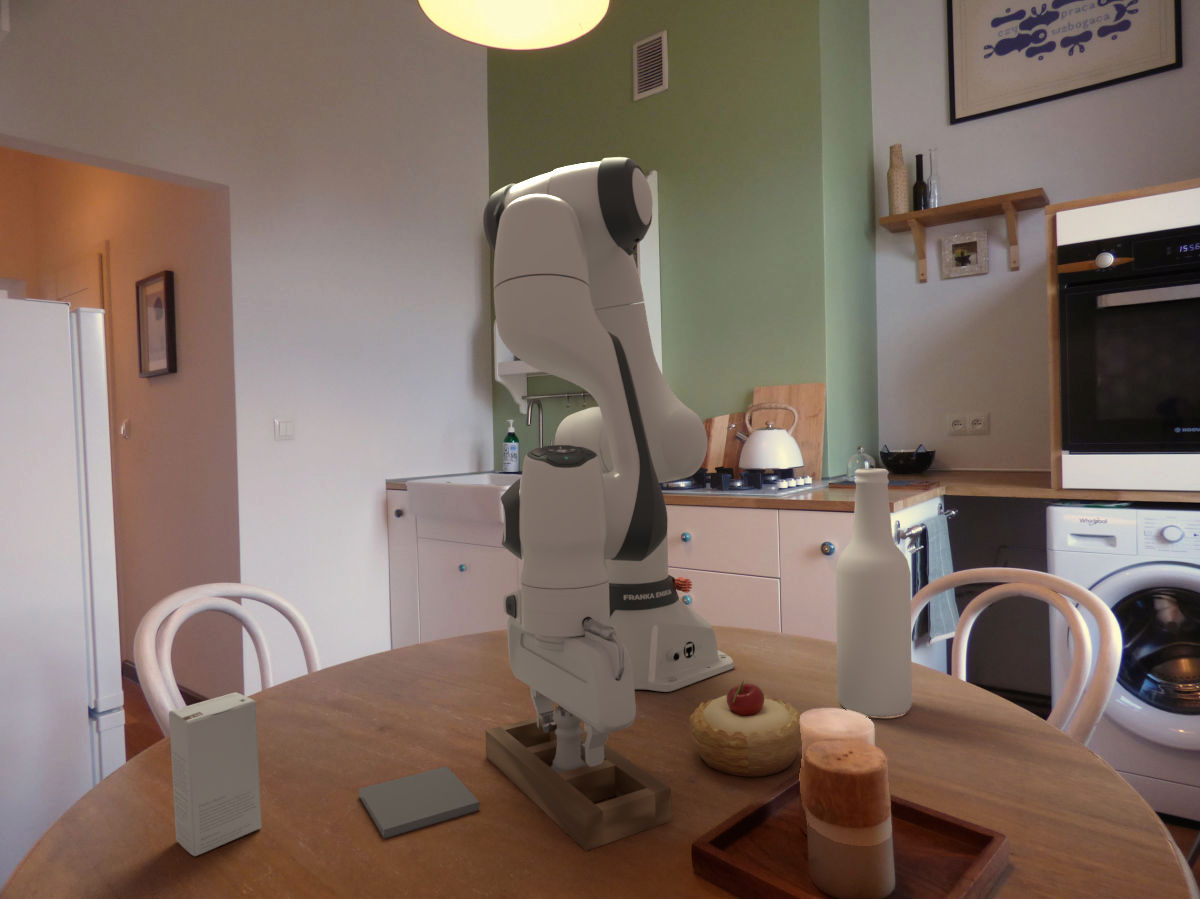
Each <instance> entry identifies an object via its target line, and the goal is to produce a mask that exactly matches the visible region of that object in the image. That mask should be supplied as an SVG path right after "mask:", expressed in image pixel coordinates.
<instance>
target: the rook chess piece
mask: <svg viewBox="0 0 1200 899" xmlns="http://www.w3.org/2000/svg"><path fill="white" fill-rule="evenodd" d="M552 719H553V720H554V722H555V723H556V724H557V729H556V730H555V734H556V735H557V748H556V756H555V759H554V760H553V763H552V764H553V765H552V766H551V767H550V768H551V769H553V770H554V771H555V772H556V773H558V774H559V773H563V772H566V771H569V770H573V769H576V768H580V767H583V766H587V764H586V763H585V762H583V761H582V760H581V751H580V744H581V734H582V733H583V730H584V729H583V728H582V727H581V724H582V722H583V721H582V720H580V719H579V718H577V717H576V716H574V715H573V714H571V713H570V712H568V711H567V710H565V709H564V708H562V707H561V706H559V705H558V706H555V713H554V715H553V717H552ZM580 727H581V728H582V729H583V730H582V729H581V728H580Z"/></svg>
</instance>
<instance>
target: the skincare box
mask: <svg viewBox="0 0 1200 899" xmlns="http://www.w3.org/2000/svg"><path fill="white" fill-rule="evenodd" d="M168 721H169V722H168V723H169V724H168V725H169V739H170V755H171V770H172V771H171V773H172V774H171V775H172V789H173V790H172V791H173V810H174V813H173V814H174V826H175V830H174V831H175V840H176V841H177V843H178V844H179V845H180V847H182V848H183V849H184V850H185V851H187V853H189V855H191V856H193V857H197V856H198V857H199V855H203V854H205V853H207V852H209V851H212V850H214V849H216V848H218V847H220V846H222V845H223V846H224V845H226V844H227V843H229V842H233V841H235V840H237V839H239V838H242V837H244V836H246V835H248V834H251V833H253V832H255V831H258V830H259V829H261V828H262V810H261V808H262V807H261V785H260V784H261V783H260V764H259V763H260V762H259V760H260V759H259V744H258V743H259V741H258V740H259V738H258V725H257V724H258V723H257V703H256V701H255V700H254V699H253V698H250V697H248V696H246V695H244V694H241V693H239V692H236V691H235V692H231V693H228V694H225V695H222V696H221V695H220V696H217V697H213V698H210V699H207V700H206V699H205V700H204V701H200V702H197V703H192V704H189V705H186V706H182V707H179V708H175V709H172V710H169V712H168Z"/></svg>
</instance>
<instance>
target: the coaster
mask: <svg viewBox="0 0 1200 899" xmlns="http://www.w3.org/2000/svg"><path fill="white" fill-rule="evenodd" d="M358 793H359V799H360V800H361V801H362V804H363V806H364V807H365V808H366V810H367V812H368V813H369V815H370V817H371V818H372V821H373V823H374V825H375V826H376V827H377V829H378V831H379V832H380V835H381V836H382V838H383V839H388V838H390V837H394V836H397V835H401V834H404V833H408V832H411V831H415V830H417V829H421V828H424V827H428V826H430V825H434V824H437V823H441V822H445V821H448V820H451V819H454V818H458V817H461V816H464V815H468V814H471V813H475V812H477V811H480V810H481V809H480V801H479V799H477V797H476V796H475V795H474V794H473V793H472V792H471V791H470V790H469V788H467V786H466V785H465V783H463V782H462V780H460V778H458V776H456V774H455V773H454V772H453V771H452V770H451V769H450V767H448V766H447V765H446V766H442V767H438V768H434V769H431V770H425V771H423V772H420V773H416V774H412V775H408V776H403V777H400V778H397V779H392V780H389V781H384V782H381V783H380V782H379V783H378V784H373V785H369V786H365V787H362V788H359V792H358Z"/></svg>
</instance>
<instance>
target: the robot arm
mask: <svg viewBox="0 0 1200 899" xmlns="http://www.w3.org/2000/svg"><path fill="white" fill-rule="evenodd" d="M653 207H654V206H653V194H652V189H651V187H650V184H649V182H648V180H647V178H646V174H645V172H644V171H643V169H642V168H641V166H640V165H639V164H638V163H636V162H635V161H634V160H633V159H632V158H629V157H622V156H617V157H604V158H602V160H600V161H593V162H591V161H590V162H584V163H578V164H572V165H566V166H563V167H558V168H555V169H553V171H550V172H547V173H543V174H539V175H537V176H534V177H531V178H529V179H526V180H524V181H521V182H519V183H510V184H507V185H506V186H505V185H504V186H503V187H501V188H499V189H498V190H497V191H494V193H492V194H491V195H490V197H489V199H488V200H487V203H486V206H485V207H484V211H483V217H482V218H483V220H482V221H483V222H482V224H483V230H484V235H485V238H486V241H487V244H488V245H489V248H490V249H491V251H492V252H493V254H494V261H493V302H494V303H493V304H494V305H493V306H494V313H495V320H496V327H497V331H498V332H497V333H498V335H499V338H500V339H501V341H502V343H503V344H504V346H505V347H506V348H507V350H509V352H510V353H512V354H513V355H514V356H515V357H516V358H517V359H519V361H521V362H523V363H524V364H526V365H527V366H530V367H531V368H534V369H537V370H539V371H540V372H543V373H546V374H549V375H552V376H555V377H557V378H561V379H563V380H565V381H568V382H570V383H572V384H574V385H576V386H578V387H580V388H581V389H583V390H585V391H586V392H587V393H588V394H590V395H591V396H592V397H593V399H594V400H595V401H596V403H597V405H598V406H592V407H588V408H585V409H583V410H579V411H577V412H574V413H571V414H569V415H568V416H566V417H564V419H562V421H561V422H560V423H559V425H558V426H557V430H555V436H554V444H552V445H546V446H544V445H543V446H542V447H537V448H534V449H532V450H530V451H528V452H526V454H525V456H524V459H523V464H522V473H521V478H518V479H517V480H515V482H513V483H512V484H511V485H510V486H509V487H508V488H507V489H506V490H505V491H504V492H503V494H502V495H501V496H500V501H501V504H502V510H503V513H502V514H503V532H502V533H503V534H502V540H501V546H503V547H504V548H505V549H506V550H507V551H508V552H510V553H511V554H512V555H514V556H515V557H516V558H518V559H520V560H523V566H522V571H521V573H520V589H518V590H516V591H515V590H514V591H513V592H510V593H506V594H505V595H504V596H503V601H502V602H503V612H504V614H505V615H507V616H508V618H507V619H508V620H507V628H506V629H507V630H506V631H507V647H508V659H509V665H510V667H511V671H512V673H513V676H514V677H515V678H516V679H518V680H520V681H521V682H522V683H523V684H525V685H527V686H529V692H530V698H531V701H532V704H533V708H534V710H535V713H536V717H537V727H538V728H539V729H541V730H542V731H543V732H546V733H547V732H549V731H555V730H556V729H557V724H556V723H555V722H554V720H553V719H552V717H553V715H554V713H555V712H556V710H555V707H554V703H555V704H556V705H559V706H561V707H562V708H564V709H565V710H567V711H568V712H570V713H571V714H573V715H574V716H576V717H577V718H579V719H580V720H582V722H583V724H584V728H583V730H585V731H586V732H588V734H587V738H586V742H585V743H582V744H580V751H581V760H582V761H583V762H585V763H586V764H587V765H589V766H590V767H593V766H596V765H600V764H602V763H603V761H604V745H605V744H606V743H607V740H608V738H609V736H610V734H611V733H614V732H618V731H622V730H624V729H627V728H630V727H631V726H632V725H633V724H634V721H635V719H636V716H637V706H636V704H637V702H636V694H635V693H636V691H635V690H648V691H655V692H662V693H663V692H664V693H668V692H672V691H677V690H678V689H681V688H684V687H686V686H688V685H692V684H695V683H697V682H700V681H702V680H705V679H708V678H710V677H713V676H716V675H718V674H722V673H724V672H727V671H730V670H732V669H734V667H735V665H734V660H733V659H732V657H731V656H729V655H728V654H726V653H725V652H723V651H721V650H719V649H718V642H717V637H716V632H715V630H714V627H713V625H712V624H711V623H710V621H708V619H705V618H704V617H703V616H702V615H700V614H698V612H696V611H695V610H693V609H692V608H691V607H690V606H688V605H687V604H685V603H684V602H683V601H682V600H680V597H679V593H678V592H677V591H680V592H683V593H690V591H691V589H692V588H693V581H691V579H690V578H686V577H685V578H684V577H682V576H679V577H677V578H675V577H673V576H672V575H670V574H669V555H668V554H669V552H668V550H669V549H668V547H669V546H668V541H669V540H668V522H669V521H668V519H669V517H668V510H667V509H668V508H667V505H666V501H665V496H664V493H663V491H662V488H661V485H660V484H661V483H668V482H674V481H679V480H681V479H687V478H689V477H691V476H693V475H695V474H696V473H697V472H698V470H700V468H701V466H703V463H704V461H705V458H706V455H707V451H708V441H709V440H708V435H707V430H706V428H705V425H704V423H703V421H702V420H701V418H700V417H699V415H698V414H697V413H696V412H695V411H693V410H692V409H691V408H689V407H688V406H687V405H686V404H684V403H683V402H682V401H681V400H680V399H679V398H678V397H677V395H676V394H675V393H674V392H673V390H672V389H671V388H670V387H671V386H670V385H669V384H668V383H667V380H666V379H665V377H664V375H663V374H662V371H661V369H660V366H659V365H658V362H657V359H656V356H655V354H654V349H653V344H652V339H651V333H650V328H649V322H648V316H647V311H646V305H645V299H644V294H643V288H642V284H641V283H642V282H641V278H640V275H639V271H638V268H637V267H638V266H637V264H636V261H635V258H634V254H635V252H636V251H637V248H638V244H639V243H641V241H642V240H644V238H645V237H646V235H647V233H648V230H649V229H650V227H651V225H652V220H653ZM536 717H535V718H536Z"/></svg>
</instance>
